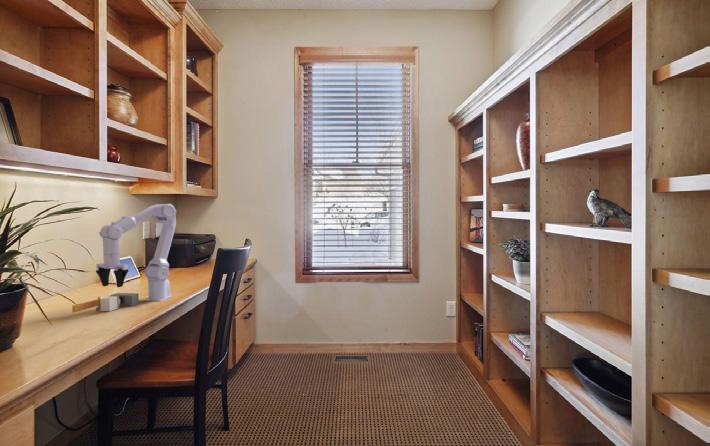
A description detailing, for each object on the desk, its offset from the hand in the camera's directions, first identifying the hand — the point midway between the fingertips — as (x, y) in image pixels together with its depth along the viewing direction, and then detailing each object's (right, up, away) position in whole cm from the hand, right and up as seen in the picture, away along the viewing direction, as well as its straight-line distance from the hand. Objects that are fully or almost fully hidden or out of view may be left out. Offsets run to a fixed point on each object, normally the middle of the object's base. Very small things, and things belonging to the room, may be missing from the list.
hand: (112, 286), depth 164 cm
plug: (0, -9, -1) cm, 9 cm away
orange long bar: (-6, -8, -6) cm, 12 cm away
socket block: (0, -9, +3) cm, 10 cm away
